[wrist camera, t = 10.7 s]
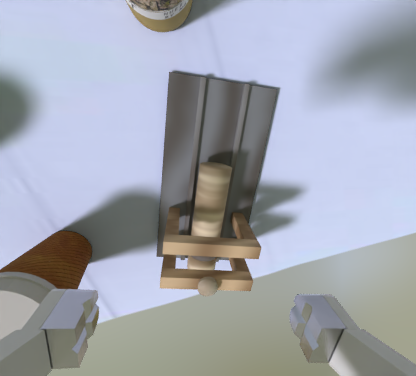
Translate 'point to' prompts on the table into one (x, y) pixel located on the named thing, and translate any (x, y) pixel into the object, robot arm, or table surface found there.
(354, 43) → the table surface
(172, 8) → the paper tube
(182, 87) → the collar stand
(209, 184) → the wooden roller
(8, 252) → the table surface
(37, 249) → the disposable coffee cup
